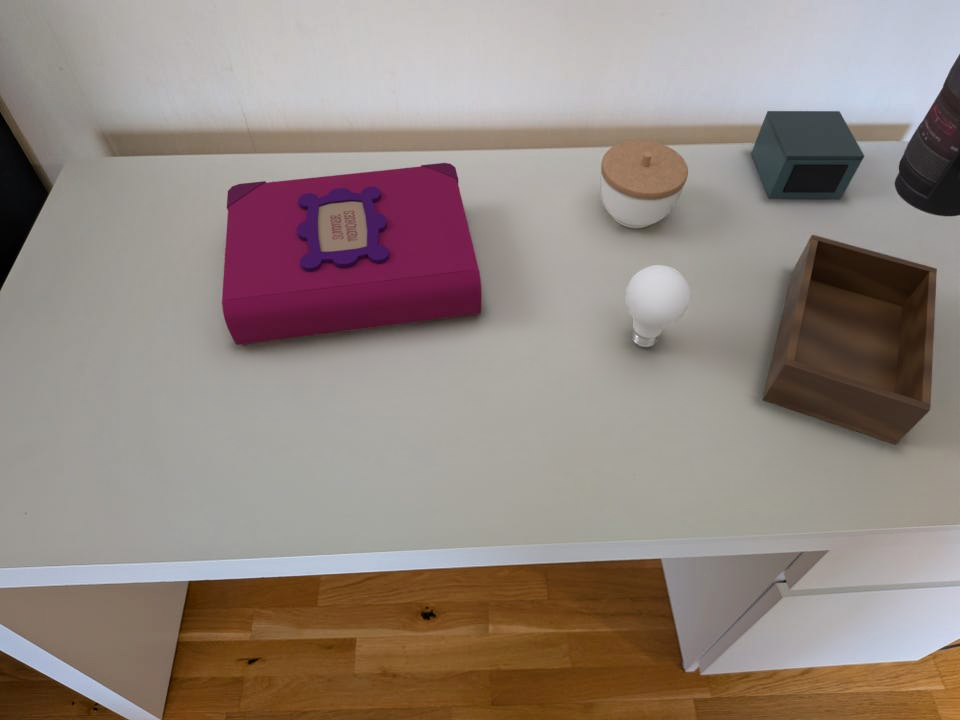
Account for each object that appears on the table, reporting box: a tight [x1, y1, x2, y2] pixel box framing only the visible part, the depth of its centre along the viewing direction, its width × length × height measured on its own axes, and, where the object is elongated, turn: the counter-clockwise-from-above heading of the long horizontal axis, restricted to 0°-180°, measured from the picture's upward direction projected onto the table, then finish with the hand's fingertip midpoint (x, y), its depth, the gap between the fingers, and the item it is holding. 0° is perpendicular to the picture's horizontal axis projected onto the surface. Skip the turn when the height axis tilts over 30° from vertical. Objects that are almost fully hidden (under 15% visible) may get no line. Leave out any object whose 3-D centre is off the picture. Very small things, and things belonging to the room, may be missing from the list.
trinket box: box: [599, 139, 689, 229], centre depth 87 cm, size 11×11×9 cm
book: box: [221, 162, 482, 346], centre depth 81 cm, size 21×28×8 cm
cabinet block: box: [750, 110, 865, 200], centre depth 93 cm, size 10×10×7 cm
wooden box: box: [762, 234, 938, 445], centre depth 75 cm, size 21×14×7 cm, turn 156°
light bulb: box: [625, 264, 691, 348], centre depth 73 cm, size 7×7×11 cm
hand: (944, 173), depth 60 cm, fingers closed on camera lens, 8 cm apart
